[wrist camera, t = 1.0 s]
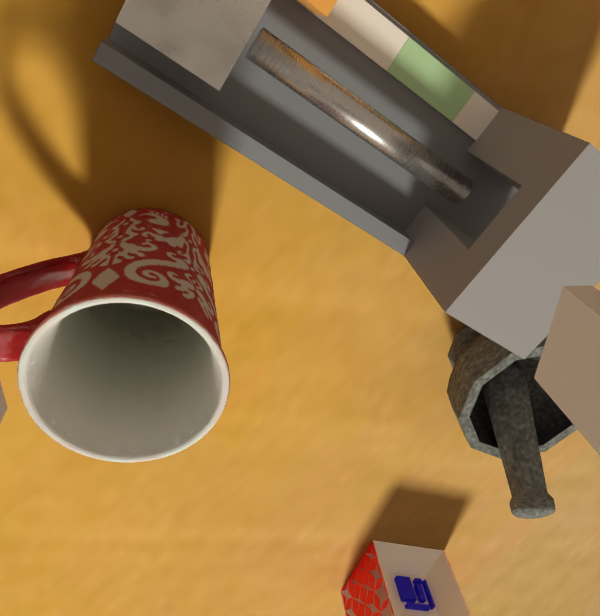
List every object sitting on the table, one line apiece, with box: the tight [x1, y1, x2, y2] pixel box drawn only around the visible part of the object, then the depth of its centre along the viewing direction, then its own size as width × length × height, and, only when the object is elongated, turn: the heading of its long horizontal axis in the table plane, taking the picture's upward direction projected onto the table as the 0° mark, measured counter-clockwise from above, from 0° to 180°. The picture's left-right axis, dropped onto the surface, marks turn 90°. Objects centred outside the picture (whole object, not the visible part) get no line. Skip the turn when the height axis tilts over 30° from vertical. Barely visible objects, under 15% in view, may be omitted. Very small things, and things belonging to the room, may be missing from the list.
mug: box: [0, 208, 230, 462], centre depth 30 cm, size 13×9×14 cm
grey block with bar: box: [115, 0, 473, 204], centre depth 28 cm, size 20×7×5 cm, turn 56°
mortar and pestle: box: [447, 326, 577, 519], centre depth 39 cm, size 11×9×12 cm
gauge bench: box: [92, 0, 600, 359], centre depth 29 cm, size 26×10×10 cm, turn 56°
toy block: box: [341, 540, 471, 616], centre depth 52 cm, size 8×8×8 cm
